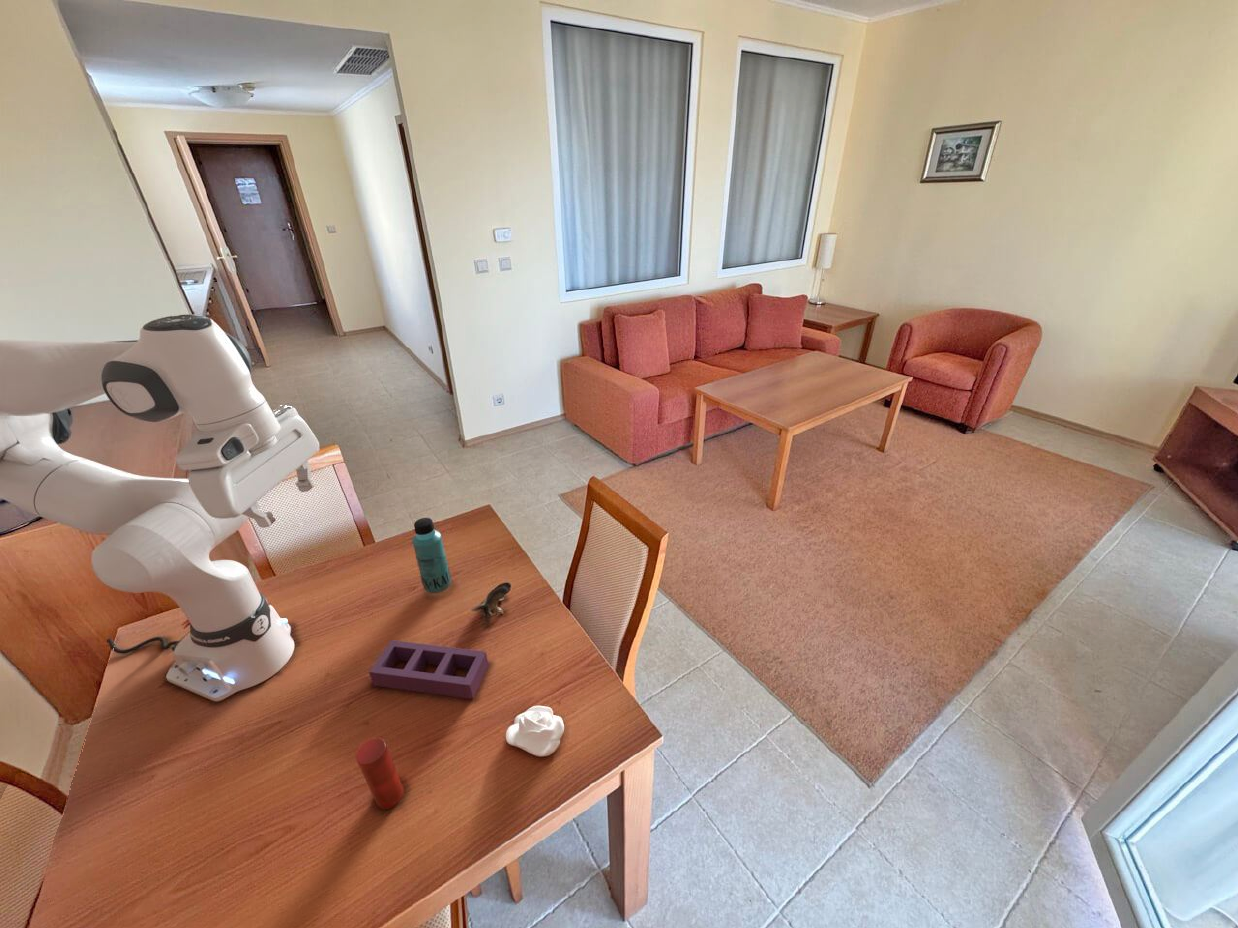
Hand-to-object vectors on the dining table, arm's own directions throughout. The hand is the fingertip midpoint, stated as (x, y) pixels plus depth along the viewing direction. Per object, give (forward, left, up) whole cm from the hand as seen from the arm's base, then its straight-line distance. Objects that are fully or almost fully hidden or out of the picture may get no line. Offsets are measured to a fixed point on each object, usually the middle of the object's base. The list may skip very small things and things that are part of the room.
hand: (289, 506), depth 79 cm
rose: (+39, -7, -41) cm, 57 cm away
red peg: (+19, -20, -41) cm, 49 cm away
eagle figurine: (+21, +20, -41) cm, 50 cm away
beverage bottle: (+5, +25, -41) cm, 48 cm away
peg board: (+15, +2, -41) cm, 43 cm away
